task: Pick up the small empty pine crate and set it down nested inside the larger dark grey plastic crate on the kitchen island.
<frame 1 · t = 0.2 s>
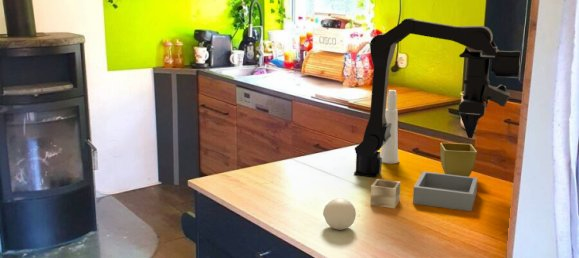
hand: (471, 134, 160), 14 cm above the counter, tool pointing down, fingers open, 9 cm apart
flower pot: (455, 178, 171), on the counter
cosmetic bottle: (388, 161, 187), on the counter
big crate: (445, 198, 154), on the counter
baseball: (338, 228, 134), on the counter
small crate: (385, 203, 150), on the counter
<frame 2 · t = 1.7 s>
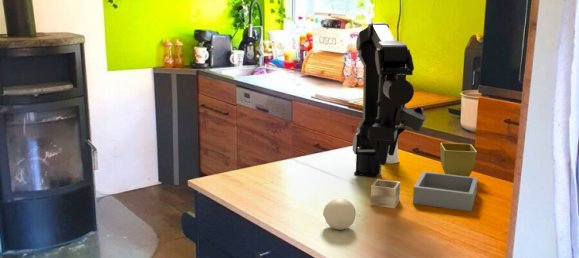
hand: (387, 159, 148), 11 cm above the counter, tool pointing down, fingers open, 9 cm apart
nothing on the counter moved.
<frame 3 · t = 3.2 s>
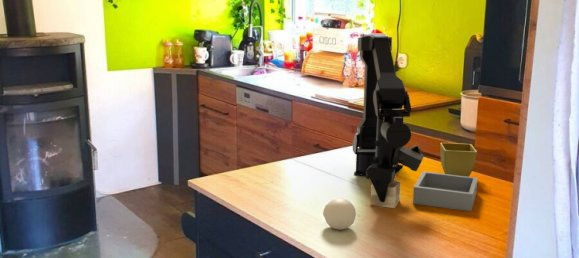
hand: (385, 197, 150), 1 cm above the counter, tool pointing down, fingers closed on small crate, 6 cm apart
small crate: (385, 202, 150), on the counter, touching gripper
everything else where it was.
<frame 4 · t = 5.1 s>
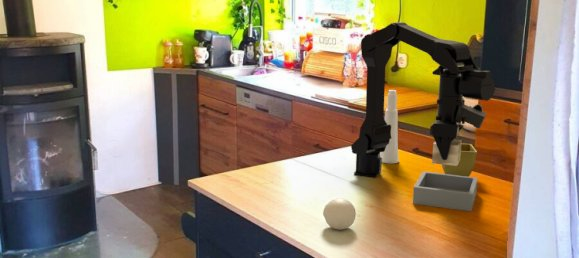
hand: (446, 156, 151), 11 cm above the counter, tool pointing down, fingers closed on small crate, 6 cm apart
small crate: (446, 161, 151), point 10 cm above the counter, touching gripper
everything else where it was.
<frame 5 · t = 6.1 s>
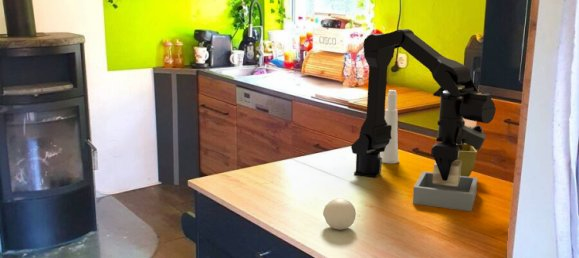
hand: (446, 176, 153), 6 cm above the counter, tool pointing down, fingers closed on small crate, 6 cm apart
small crate: (446, 181, 153), point 4 cm above the counter, touching gripper
everything else where it was.
when the fingers open (3 cm above the counter, at t = 7.0 s): small crate drops 1 cm, resting on big crate.
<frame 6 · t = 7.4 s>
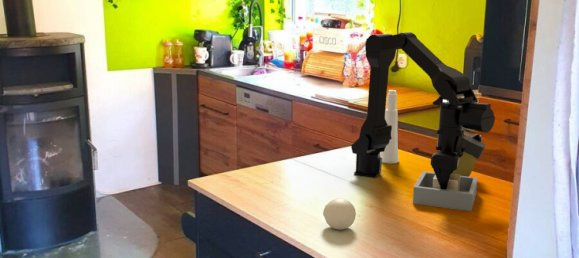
hand: (446, 185, 153), 3 cm above the counter, tool pointing down, fingers open, 9 cm apart
small crate: (445, 195, 154), point 1 cm above the counter, touching big crate
everything else where it was.
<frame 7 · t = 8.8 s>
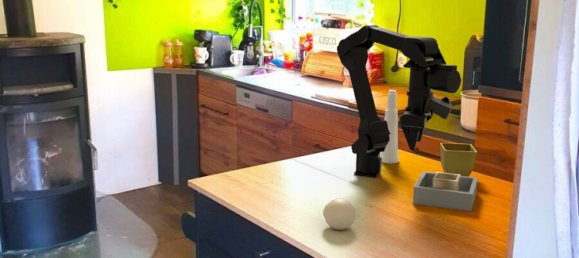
hand: (415, 145, 159), 12 cm above the counter, tool pointing down, fingers open, 9 cm apart
nothing on the counter moved.
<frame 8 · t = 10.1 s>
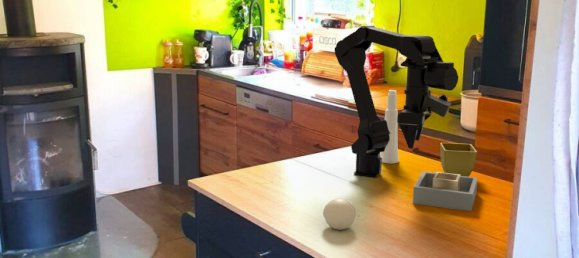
hand: (414, 144, 159), 12 cm above the counter, tool pointing down, fingers open, 9 cm apart
nothing on the counter moved.
at the end: small crate inside the target area on the big crate (0.1 cm from its centre), point 0.8 cm above the big crate's base; small crate tilted 0°; the gripper is holding nothing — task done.
